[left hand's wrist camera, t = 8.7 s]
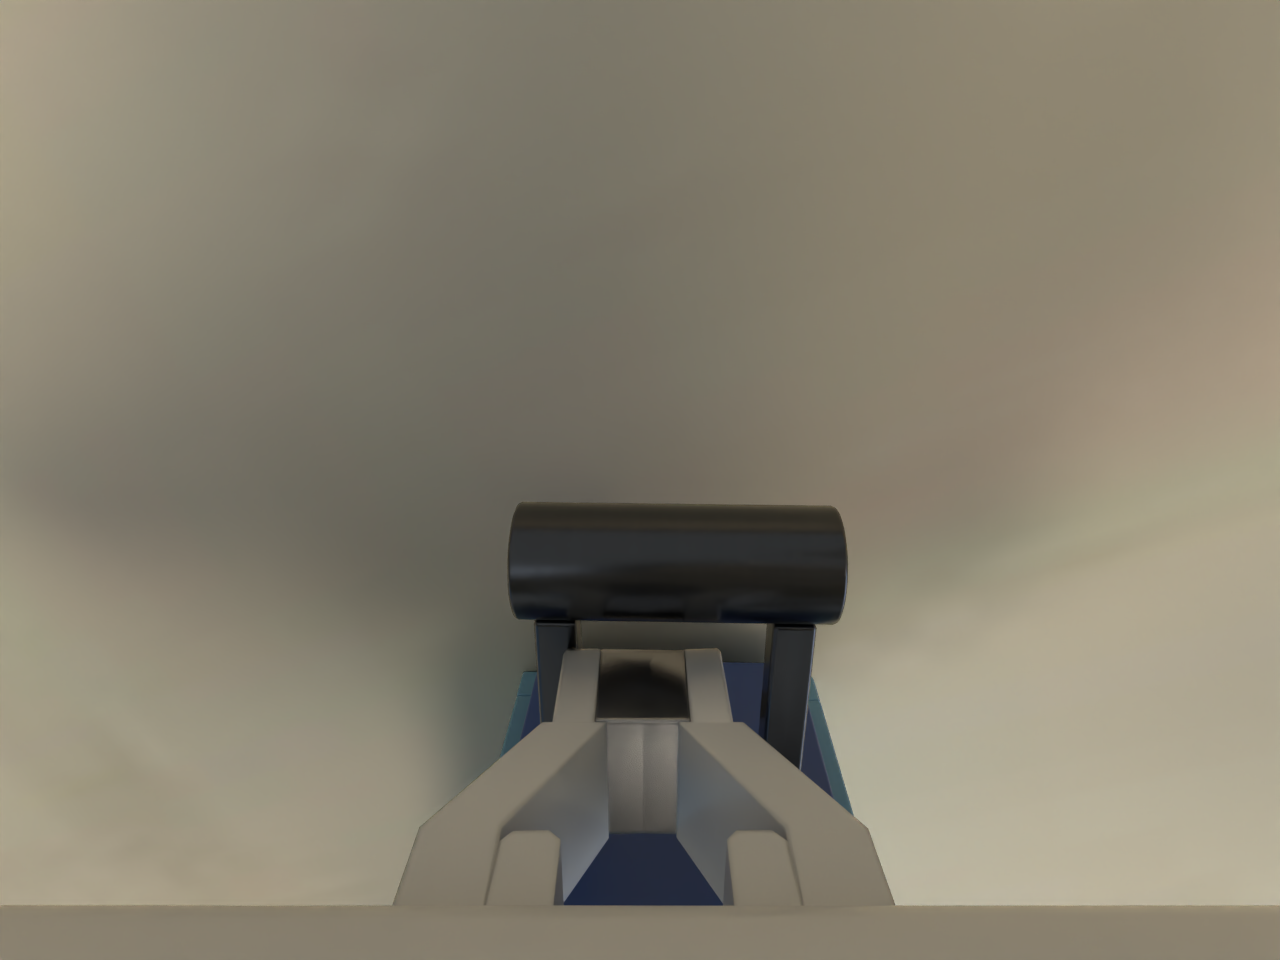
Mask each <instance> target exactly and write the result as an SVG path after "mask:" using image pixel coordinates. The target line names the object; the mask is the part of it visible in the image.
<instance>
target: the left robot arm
mask: <svg viewBox="0 0 1280 960" xmlns="http://www.w3.org/2000/svg"><path fill="white" fill-rule="evenodd" d="M639 833H645V834H677V839H678V840H679V842H680V843H681V845H682V846H683V847H684V849H685V850H686V852H687V853H688V855H689V856H690V857H691V859H692V860H693V862H694V863H695V865H696V866H697V867H698V869H699V870H700V872H701V873H702V875H703V876H704V877H705V879H706V880H707V882H708V883H709V885H710V886H711V887H712V889H713V890H714V892H715V893H716V894H717V896H718V897H719V899H720V900H721V902H722V903H723V906H626V905H564V902H565V900H566V899H567V897H568V896H569V894H570V893H571V892H572V890H573V889H574V887H575V886H576V884H577V883H578V882H579V880H580V879H581V877H582V876H583V874H584V873H585V872H586V870H587V869H588V867H589V866H590V864H591V863H592V861H593V860H594V859H595V857H596V856H597V854H598V853H599V851H600V850H601V849H602V847H603V846H604V844H605V843H606V841H607V840H608V839H609V834H639ZM0 960H1280V905H1220V906H895V903H894V900H893V897H892V895H891V892H890V889H889V886H888V883H887V881H886V878H885V875H884V872H883V869H882V866H881V864H880V861H879V858H878V855H877V852H876V849H875V847H874V844H873V841H872V838H871V835H870V832H869V830H868V828H867V827H866V826H865V825H863V824H862V823H861V822H860V821H859V820H858V819H856V818H855V817H854V816H853V815H852V814H851V813H849V812H848V811H847V810H846V809H845V808H844V807H842V806H841V805H840V804H839V803H838V802H836V801H835V800H834V799H833V798H832V797H831V796H829V795H828V794H827V793H826V792H825V791H824V790H822V789H821V788H820V787H819V786H818V785H817V784H815V783H814V782H813V781H812V780H811V779H809V778H808V777H807V776H806V775H805V774H804V773H802V772H801V771H800V770H799V769H798V768H797V767H795V766H794V765H793V764H792V763H791V762H790V761H788V760H787V759H786V758H785V757H784V756H782V755H781V754H780V753H779V752H778V751H777V750H775V749H774V748H773V747H772V746H771V745H770V744H768V743H767V742H766V741H765V740H764V739H763V738H761V737H760V736H759V735H758V734H757V733H755V732H754V731H753V730H752V729H751V728H750V727H748V726H747V725H746V724H745V723H743V722H733V718H732V713H731V707H730V701H729V696H728V690H727V684H726V679H725V673H724V667H723V662H722V656H721V651H720V650H719V649H718V648H707V649H684V650H637V649H602V651H601V650H600V649H566V651H565V652H564V654H563V660H562V667H561V673H560V679H559V685H558V691H557V697H556V703H555V709H554V715H553V721H552V722H542V723H541V724H540V725H538V726H537V727H536V728H535V729H534V730H532V731H531V732H530V733H529V734H528V735H527V736H525V737H524V738H523V739H522V740H521V741H520V742H518V743H517V744H516V745H515V746H514V747H513V748H511V749H510V750H509V751H508V752H507V753H506V754H504V755H503V756H502V757H501V758H500V759H499V760H497V761H496V762H495V763H494V764H493V765H492V766H490V767H489V768H488V769H487V770H486V771H485V772H483V773H482V774H481V775H480V776H479V777H478V778H476V779H475V780H474V781H473V782H472V783H471V784H469V785H468V786H467V787H466V788H465V789H464V790H462V791H461V792H460V793H459V794H458V795H457V796H455V797H454V798H453V799H452V800H451V801H450V802H448V803H447V804H446V805H445V806H444V807H443V808H441V809H440V810H439V811H438V812H437V813H436V814H434V815H433V816H432V817H431V818H430V819H429V820H427V821H426V822H425V823H424V824H423V825H422V826H420V827H419V830H418V833H417V836H416V839H415V842H414V845H413V847H412V850H411V853H410V856H409V859H408V862H407V865H406V867H405V870H404V873H403V876H402V879H401V882H400V885H399V887H398V890H397V893H396V896H395V899H394V902H393V905H391V906H215V905H0Z"/></svg>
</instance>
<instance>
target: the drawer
mask: <svg viewBox="0 0 1280 960" xmlns="http://www.w3.org/2000/svg"><path fill="white" fill-rule="evenodd" d="M507 579H508V593H509V601H510V606H511V609H512V612H513V615H514V617H515V618H517V619H527V620H535V622H534V633H535V648H536V663H537V674H536V677H535V681H534V685H533V689H532V693H531V697H530V701H529V705H528V709H527V713H526V717H525V721H524V725H523V729H522V733H521V737H520V741H521V740H522V739H523V738H524V737H525V736H527V735H528V734H529V733H530V732H531V731H532V730H534V729H535V728H536V727H537V726H538V725H540V724H541V723H542V722H552V721H553V715H554V709H555V703H556V697H557V691H558V685H559V679H560V673H561V667H562V660H563V654H564V652H565V651H566V649H582V639H581V620H586V621H645V622H704V623H763V624H767V631H766V644H765V657H764V663H741V662H723V667H724V673H725V679H726V684H727V690H728V696H729V701H730V707H731V713H732V718H733V722H743V723H745V724H746V725H747V726H748V727H750V728H751V729H752V730H753V731H754V732H755V733H757V734H758V735H759V736H760V737H761V738H763V739H764V740H765V741H766V742H767V743H768V744H770V745H771V746H772V747H773V748H774V749H775V750H777V751H778V752H779V753H780V754H781V755H782V756H784V757H785V758H786V759H787V760H788V761H790V762H791V763H792V764H793V765H794V766H795V767H797V768H798V769H799V770H800V771H801V772H802V773H804V774H805V775H806V776H807V777H808V778H809V779H811V780H812V781H813V782H814V783H815V784H817V785H818V786H819V787H820V788H821V789H822V790H824V791H825V792H826V793H827V794H828V795H829V796H831V797H832V798H833V799H834V797H833V794H832V790H831V786H830V782H829V779H828V775H827V771H826V768H825V764H824V760H823V757H822V753H821V749H820V745H819V742H818V738H817V734H816V731H815V727H814V723H813V720H812V716H811V712H810V709H809V705H808V701H809V692H810V683H811V674H812V664H813V655H814V646H815V637H816V626H815V624H822V625H833V624H836V623H837V622H838V621H839V620H840V618H841V615H842V612H843V609H844V605H845V600H846V593H847V581H848V556H847V544H846V537H845V531H844V526H843V523H842V519H841V516H840V514H839V512H838V510H837V509H836V508H835V507H832V506H807V505H727V504H648V503H569V502H522V503H519V504H518V505H517V507H516V510H515V512H514V515H513V519H512V523H511V528H510V535H509V544H508V560H507ZM520 741H519V742H520ZM564 905H626V906H723V903H722V902H721V900H720V899H719V897H718V896H717V894H716V893H715V892H714V890H713V889H712V887H711V886H710V885H709V883H708V882H707V880H706V879H705V877H704V876H703V875H702V873H701V872H700V870H699V869H698V867H697V866H696V865H695V863H694V862H693V860H692V859H691V857H690V856H689V855H688V853H687V852H686V850H685V849H684V847H683V846H682V845H681V843H680V842H679V840H678V839H677V834H645V833H639V834H609V839H608V840H607V841H606V843H605V844H604V846H603V847H602V849H601V850H600V851H599V853H598V854H597V856H596V857H595V859H594V860H593V861H592V863H591V864H590V866H589V867H588V869H587V870H586V872H585V873H584V874H583V876H582V877H581V879H580V880H579V882H578V883H577V884H576V886H575V887H574V889H573V890H572V892H571V893H570V894H569V896H568V897H567V899H566V900H565V902H564Z"/></svg>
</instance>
